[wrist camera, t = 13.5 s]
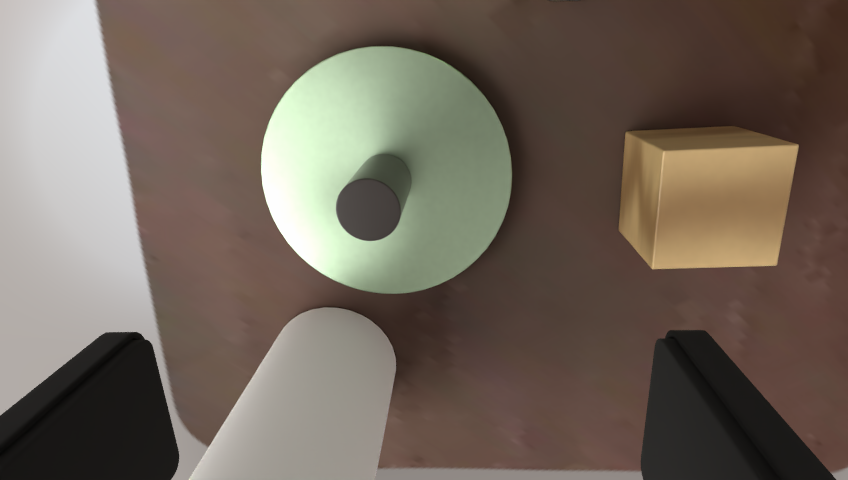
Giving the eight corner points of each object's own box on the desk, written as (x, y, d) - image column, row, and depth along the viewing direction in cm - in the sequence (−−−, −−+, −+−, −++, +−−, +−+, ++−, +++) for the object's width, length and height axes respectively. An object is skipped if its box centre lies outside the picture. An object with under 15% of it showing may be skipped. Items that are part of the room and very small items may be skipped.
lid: (248, 54, 25) (185, 56, 19) (509, 37, 24) (525, 34, 18) (287, 288, 29) (245, 348, 23) (510, 282, 28) (524, 342, 22)
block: (625, 131, 25) (663, 150, 20) (735, 125, 25) (800, 144, 20) (618, 230, 27) (651, 269, 22) (720, 226, 26) (777, 266, 22)
